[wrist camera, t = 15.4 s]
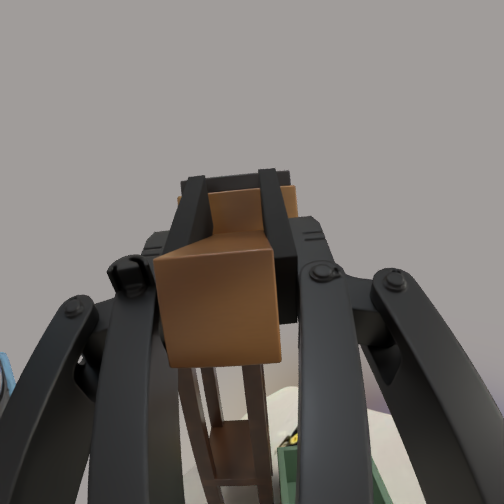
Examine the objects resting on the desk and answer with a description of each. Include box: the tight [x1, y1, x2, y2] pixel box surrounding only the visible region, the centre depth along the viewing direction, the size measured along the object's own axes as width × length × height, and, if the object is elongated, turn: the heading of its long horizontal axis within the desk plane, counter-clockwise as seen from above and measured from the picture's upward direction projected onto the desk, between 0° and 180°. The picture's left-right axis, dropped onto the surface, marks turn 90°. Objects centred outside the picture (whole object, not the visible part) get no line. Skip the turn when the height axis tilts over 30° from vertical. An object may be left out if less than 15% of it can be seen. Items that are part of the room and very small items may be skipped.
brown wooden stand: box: [178, 364, 274, 504], centre depth 33 cm, size 8×12×30 cm, turn 179°
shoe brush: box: [153, 170, 298, 368], centre depth 15 cm, size 6×17×5 cm, turn 179°
